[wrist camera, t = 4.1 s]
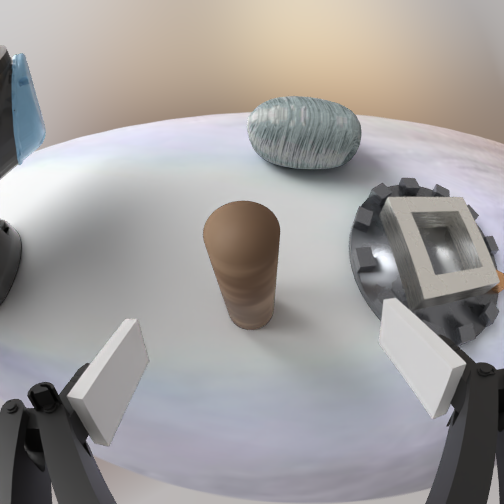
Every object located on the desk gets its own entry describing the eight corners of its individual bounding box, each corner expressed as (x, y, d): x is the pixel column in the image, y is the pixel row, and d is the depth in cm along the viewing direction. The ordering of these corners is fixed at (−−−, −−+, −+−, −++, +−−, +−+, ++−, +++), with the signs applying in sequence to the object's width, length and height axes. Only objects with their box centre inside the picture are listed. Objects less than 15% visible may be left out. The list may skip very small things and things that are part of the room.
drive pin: (229, 331, 24) (202, 267, 14) (227, 289, 26) (204, 204, 16) (275, 327, 24) (284, 260, 14) (271, 285, 26) (275, 198, 16)
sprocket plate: (372, 370, 22) (390, 362, 18) (329, 191, 32) (335, 166, 28) (510, 325, 22) (531, 313, 18) (457, 191, 32) (469, 172, 28)
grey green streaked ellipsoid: (359, 119, 34) (356, 76, 25) (362, 183, 34) (363, 151, 24) (266, 123, 39) (239, 85, 30) (261, 182, 39) (230, 155, 29)
